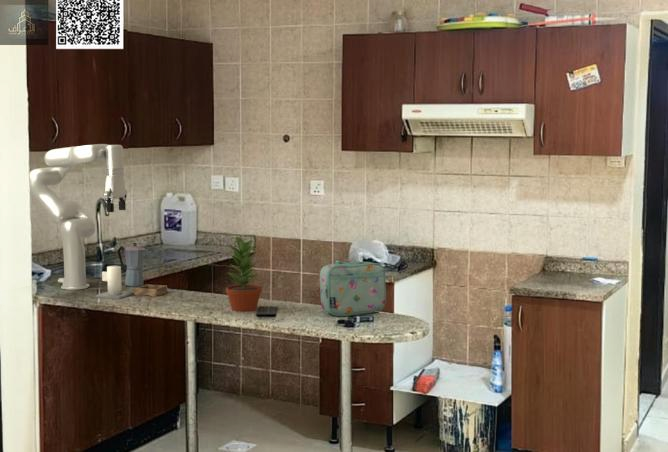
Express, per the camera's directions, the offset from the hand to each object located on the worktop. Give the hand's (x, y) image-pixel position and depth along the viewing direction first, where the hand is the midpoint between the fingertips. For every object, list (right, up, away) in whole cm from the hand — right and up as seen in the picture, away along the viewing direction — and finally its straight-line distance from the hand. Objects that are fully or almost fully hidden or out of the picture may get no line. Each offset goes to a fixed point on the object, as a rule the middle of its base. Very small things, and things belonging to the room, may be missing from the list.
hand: (116, 211), depth 443 cm
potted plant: (+61, -41, -38) cm, 82 cm away
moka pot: (+3, -35, +20) cm, 40 cm away
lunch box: (+104, -42, -48) cm, 122 cm away
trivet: (+1, -37, -7) cm, 38 cm away
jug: (-1, -36, -6) cm, 37 cm away
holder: (+16, -37, -2) cm, 40 cm away
